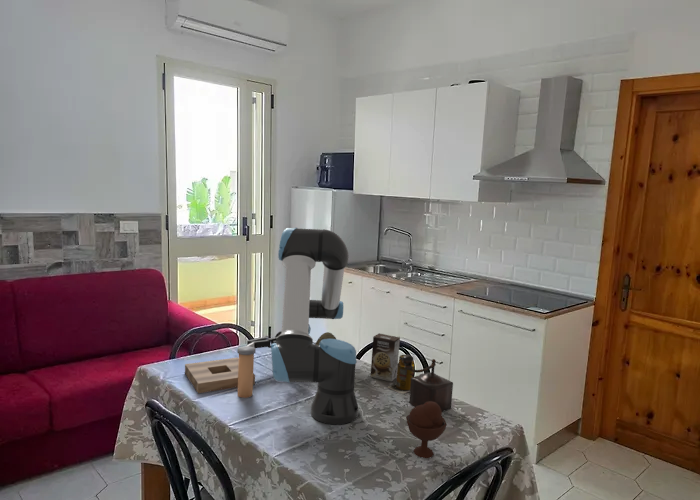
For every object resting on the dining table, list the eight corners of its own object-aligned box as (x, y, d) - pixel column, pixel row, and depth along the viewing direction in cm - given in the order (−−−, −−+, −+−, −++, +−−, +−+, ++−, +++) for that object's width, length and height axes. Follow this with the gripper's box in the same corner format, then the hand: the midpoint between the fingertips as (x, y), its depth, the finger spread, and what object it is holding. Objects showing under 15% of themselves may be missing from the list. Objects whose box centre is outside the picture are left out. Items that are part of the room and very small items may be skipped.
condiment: (417, 389, 179) (419, 357, 178) (402, 394, 173) (404, 362, 172) (402, 382, 184) (404, 352, 183) (387, 388, 178) (389, 356, 177)
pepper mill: (428, 396, 172) (432, 347, 170) (452, 408, 164) (456, 357, 162) (395, 405, 163) (399, 354, 161) (418, 419, 154) (422, 364, 152)
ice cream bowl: (438, 443, 140) (442, 393, 138) (447, 464, 129) (451, 410, 127) (401, 441, 139) (405, 391, 138) (407, 463, 128) (411, 409, 127)
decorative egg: (333, 375, 187) (336, 338, 185) (308, 371, 190) (309, 334, 188) (342, 366, 197) (345, 330, 195) (318, 362, 200) (320, 327, 199)
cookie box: (369, 377, 188) (372, 336, 186) (375, 372, 194) (378, 332, 192) (391, 382, 184) (394, 340, 182) (397, 376, 190) (400, 336, 188)
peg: (256, 396, 164) (258, 350, 162) (239, 399, 161) (240, 352, 159) (250, 389, 169) (252, 345, 167) (233, 392, 166) (235, 347, 164)
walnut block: (254, 384, 174) (255, 375, 174) (198, 393, 164) (198, 383, 164) (237, 366, 191) (237, 357, 191) (184, 373, 181) (185, 364, 180)
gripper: (315, 352, 190) (291, 370, 170) (259, 342, 198) (230, 358, 178) (316, 333, 189) (292, 349, 169) (260, 324, 197) (230, 338, 177)
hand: (260, 354), depth 173 cm, fingers open, 13 cm apart
